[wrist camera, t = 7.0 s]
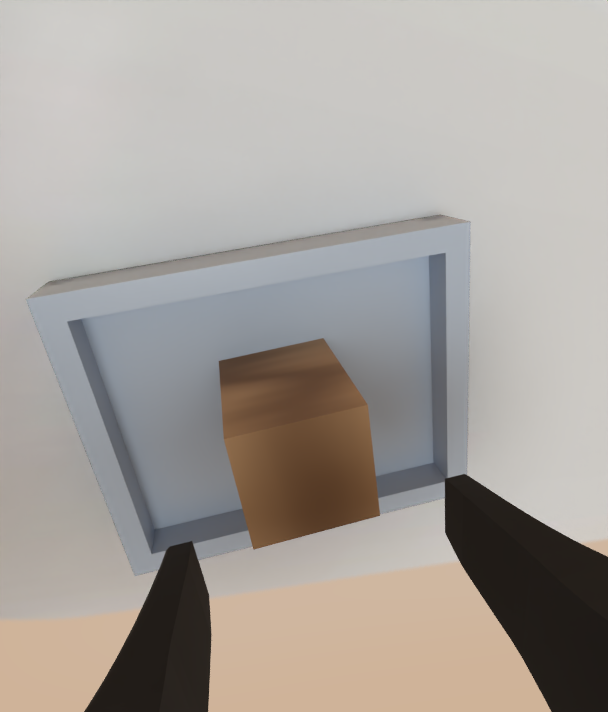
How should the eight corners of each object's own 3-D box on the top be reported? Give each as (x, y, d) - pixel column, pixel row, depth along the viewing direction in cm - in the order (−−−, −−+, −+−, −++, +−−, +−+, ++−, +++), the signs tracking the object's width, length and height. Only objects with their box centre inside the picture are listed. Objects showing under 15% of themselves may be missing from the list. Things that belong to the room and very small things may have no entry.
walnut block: (241, 449, 21) (253, 549, 16) (218, 360, 19) (223, 439, 14) (336, 426, 22) (380, 515, 16) (323, 337, 20) (367, 404, 14)
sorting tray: (141, 535, 23) (134, 575, 21) (48, 281, 18) (25, 299, 15) (443, 462, 25) (466, 492, 23) (439, 214, 20) (470, 221, 17)
